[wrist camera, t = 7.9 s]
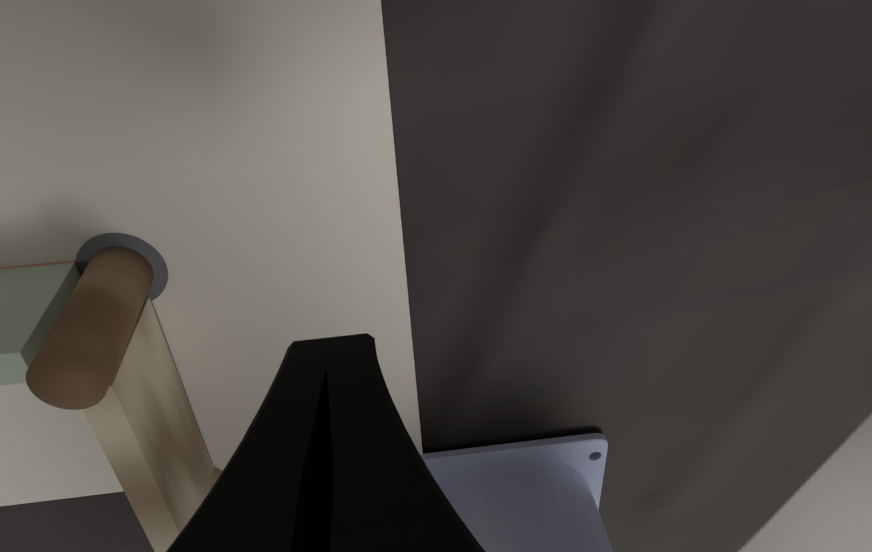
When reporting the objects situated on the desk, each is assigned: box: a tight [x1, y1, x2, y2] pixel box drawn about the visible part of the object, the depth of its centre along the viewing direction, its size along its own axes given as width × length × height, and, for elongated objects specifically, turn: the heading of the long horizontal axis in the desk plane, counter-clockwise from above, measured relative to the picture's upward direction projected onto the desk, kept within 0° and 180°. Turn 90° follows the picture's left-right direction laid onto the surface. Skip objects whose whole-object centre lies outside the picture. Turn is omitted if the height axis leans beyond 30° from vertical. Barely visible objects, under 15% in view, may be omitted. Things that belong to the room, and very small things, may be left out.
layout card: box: [0, 0, 423, 506], centre depth 20 cm, size 20×18×1 cm
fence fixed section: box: [26, 246, 222, 552], centre depth 21 cm, size 12×2×5 cm, turn 3°
